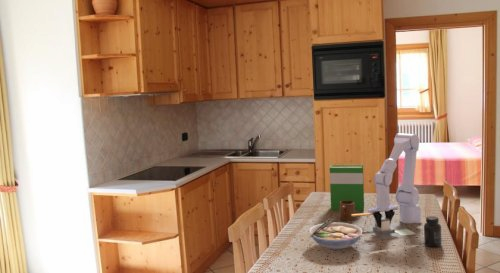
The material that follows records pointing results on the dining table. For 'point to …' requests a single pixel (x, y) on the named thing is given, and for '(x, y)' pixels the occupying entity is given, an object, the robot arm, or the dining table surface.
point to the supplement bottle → (432, 232)
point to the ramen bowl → (335, 234)
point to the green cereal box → (347, 185)
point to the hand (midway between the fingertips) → (383, 226)
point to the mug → (347, 210)
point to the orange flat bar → (361, 214)
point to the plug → (385, 224)
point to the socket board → (389, 231)
